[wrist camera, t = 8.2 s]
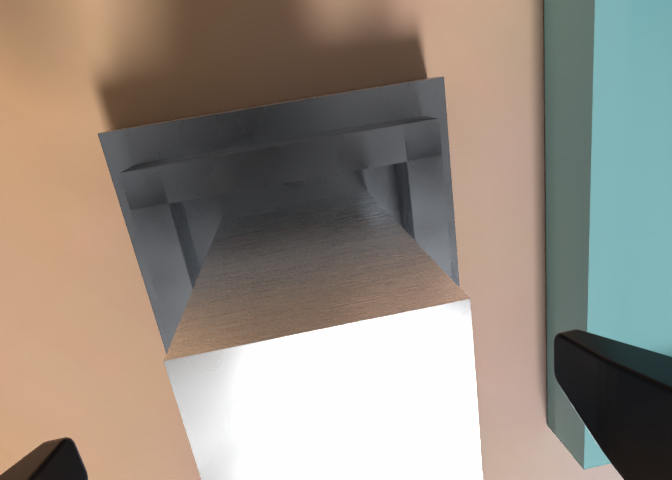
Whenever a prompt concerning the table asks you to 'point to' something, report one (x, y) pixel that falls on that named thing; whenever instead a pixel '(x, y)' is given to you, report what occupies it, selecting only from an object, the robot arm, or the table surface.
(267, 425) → the billet
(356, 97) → the dark grey tray
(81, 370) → the table surface
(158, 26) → the table surface
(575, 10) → the teal tray
